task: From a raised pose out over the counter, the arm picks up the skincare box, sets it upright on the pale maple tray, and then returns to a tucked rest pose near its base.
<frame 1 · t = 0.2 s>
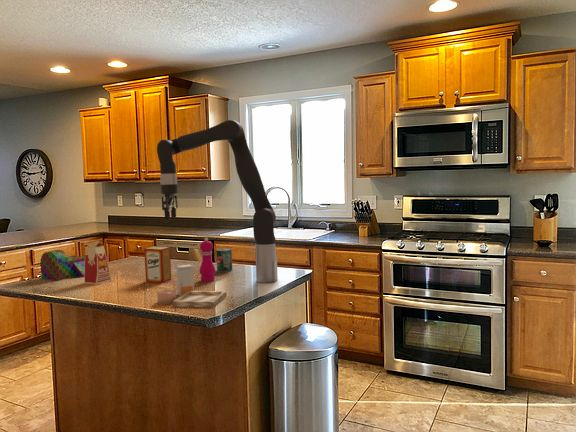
hand: (170, 218, 226), 29 cm above the countertop, tool pointing down, fingers open, 8 cm apart
tan rounded blob: (166, 302, 189), on the countertop
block: (74, 275, 247), on the countertop
pepper mill: (207, 280, 227), on the countertop
milk carton: (97, 282, 229), on the countertop
canned tomato: (224, 270, 249), on the countertop
skincare box: (185, 295, 200), on the countertop
maple tray: (200, 301, 189), on the countertop
baking soda box: (158, 281, 228), on the countertop
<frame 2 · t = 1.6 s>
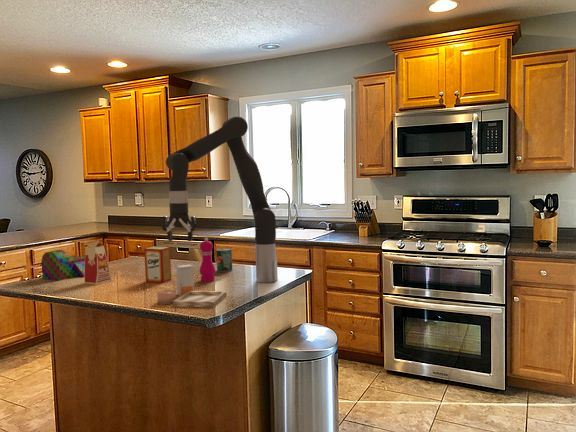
hand: (180, 240, 202), 22 cm above the countertop, tool pointing down, fingers open, 8 cm apart
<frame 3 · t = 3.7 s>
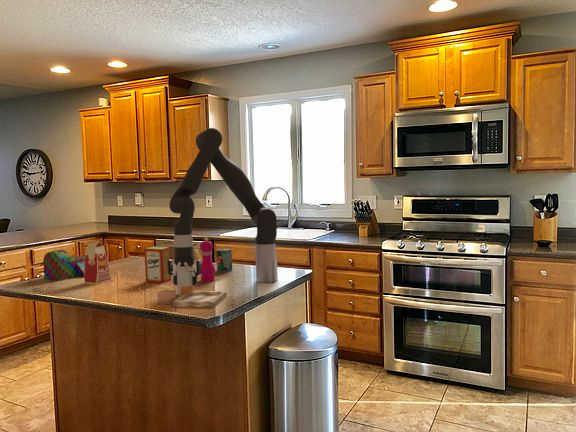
hand: (185, 284, 200), 4 cm above the countertop, tool pointing down, fingers closed on skincare box, 7 cm apart
skincare box: (185, 294, 200), on the countertop, touching gripper
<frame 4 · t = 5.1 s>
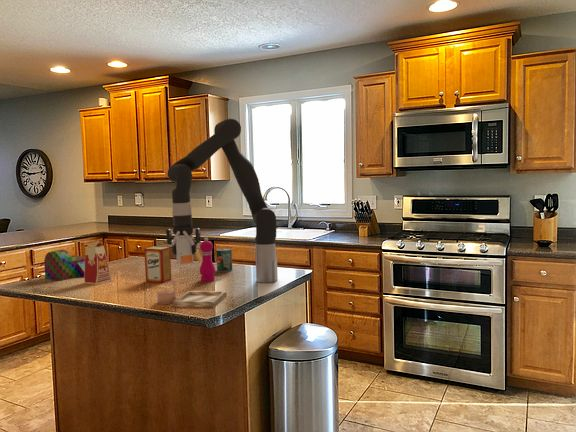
hand: (184, 254, 199), 17 cm above the countertop, tool pointing down, fingers closed on skincare box, 7 cm apart
skincare box: (185, 264, 199), point 13 cm above the countertop, touching gripper
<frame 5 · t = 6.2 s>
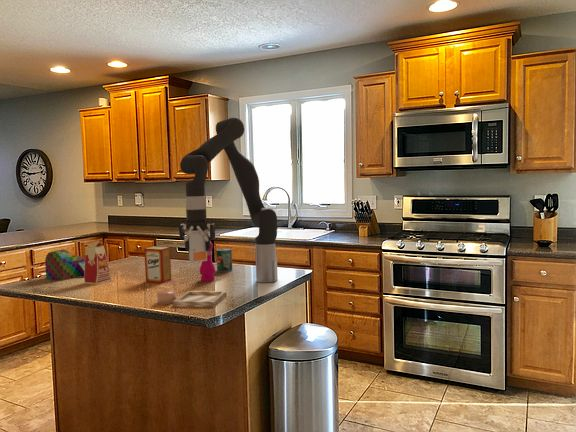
hand: (197, 250, 187), 20 cm above the countertop, tool pointing down, fingers closed on skincare box, 7 cm apart
skincare box: (198, 261, 188), point 16 cm above the countertop, touching gripper
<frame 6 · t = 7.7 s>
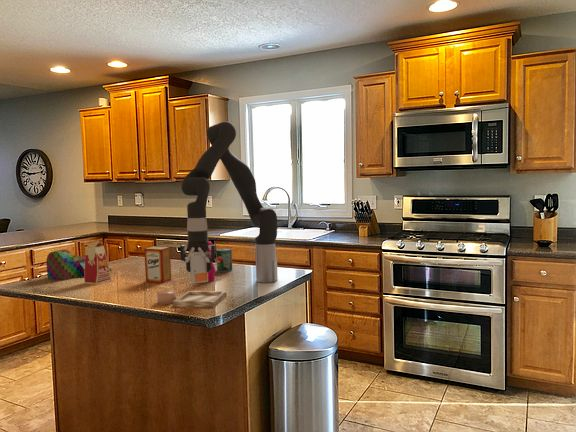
hand: (199, 271, 188), 12 cm above the countertop, tool pointing down, fingers closed on skincare box, 7 cm apart
skincare box: (199, 282, 188), point 7 cm above the countertop, touching gripper
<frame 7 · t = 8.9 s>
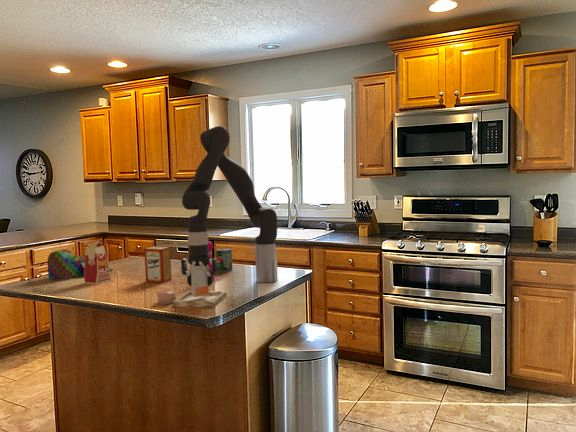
hand: (200, 285, 188), 6 cm above the countertop, tool pointing down, fingers closed on skincare box, 7 cm apart
skincare box: (200, 296, 189), point 2 cm above the countertop, touching gripper
when the fingers open (6 cm above the countertop, at t = 9.4 s): skincare box drops 1 cm, resting on maple tray.
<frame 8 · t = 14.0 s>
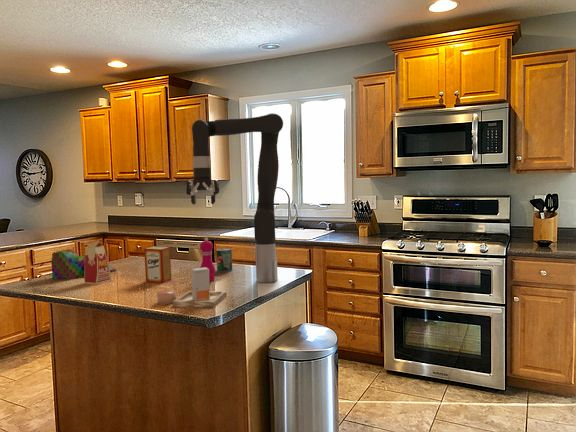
hand: (203, 204, 213), 36 cm above the countertop, tool pointing down, fingers open, 8 cm apart
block: (85, 275, 248), on the countertop
skincare box: (201, 299, 189), point 1 cm above the countertop, touching maple tray
everything else where it was.
at the end: skincare box inside the target area on the maple tray (0.3 cm from its centre), point 0.6 cm above the maple tray's base; skincare box tilted 0°; the gripper is holding nothing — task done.
